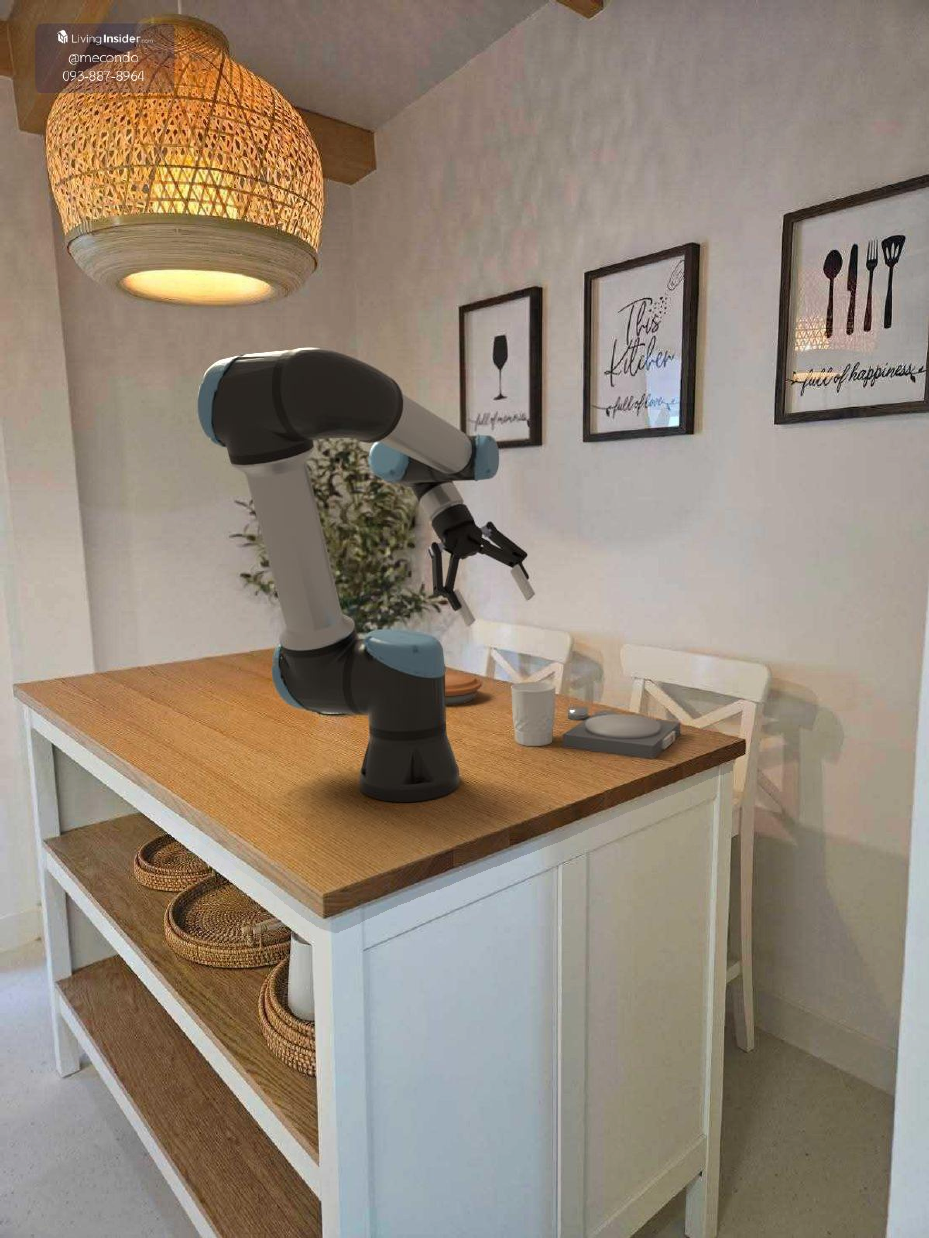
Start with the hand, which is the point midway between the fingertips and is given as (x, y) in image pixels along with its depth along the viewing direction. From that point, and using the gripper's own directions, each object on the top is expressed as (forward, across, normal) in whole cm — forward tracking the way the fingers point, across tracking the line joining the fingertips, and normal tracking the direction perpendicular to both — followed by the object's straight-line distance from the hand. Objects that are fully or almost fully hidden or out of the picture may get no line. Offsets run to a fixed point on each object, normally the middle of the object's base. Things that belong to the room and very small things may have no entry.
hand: (501, 610), depth 149 cm
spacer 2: (+27, -12, -8) cm, 30 cm away
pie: (+6, +2, -36) cm, 37 cm away
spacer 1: (+24, -10, -12) cm, 29 cm away
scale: (+31, -7, +3) cm, 32 cm away
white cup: (+24, +5, -4) cm, 24 cm away
